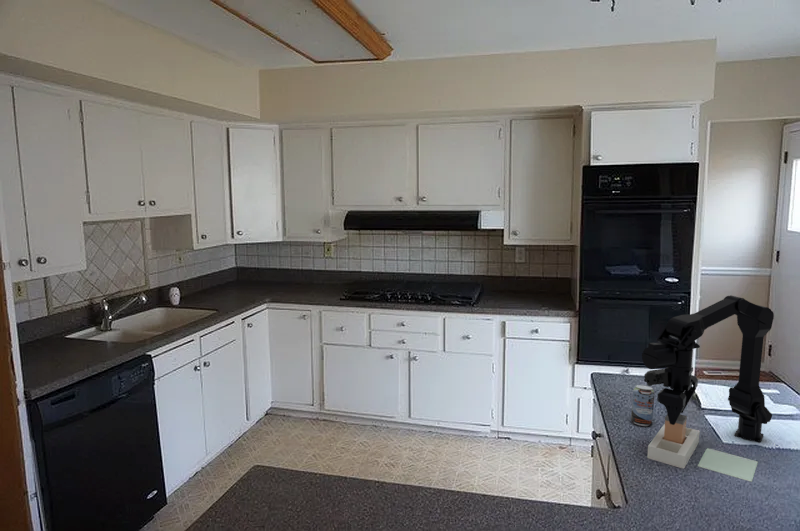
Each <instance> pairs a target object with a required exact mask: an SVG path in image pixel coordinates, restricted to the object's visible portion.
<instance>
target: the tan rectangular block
mask: <svg viewBox="0 0 800 531" xmlns="http://www.w3.org/2000/svg"><path fill="white" fill-rule="evenodd" d="M687 420H688V416H687V415H684V414H682V413H680V415H679V417H678V419H677V421H676V423H675V424H674V425H672V424H670V422H669V418H668V414H666V416H664V424H665V431H664V440H668V441H671V442H675V443H679V444H683V443H684V442H685V434H686V427H687Z"/></svg>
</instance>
